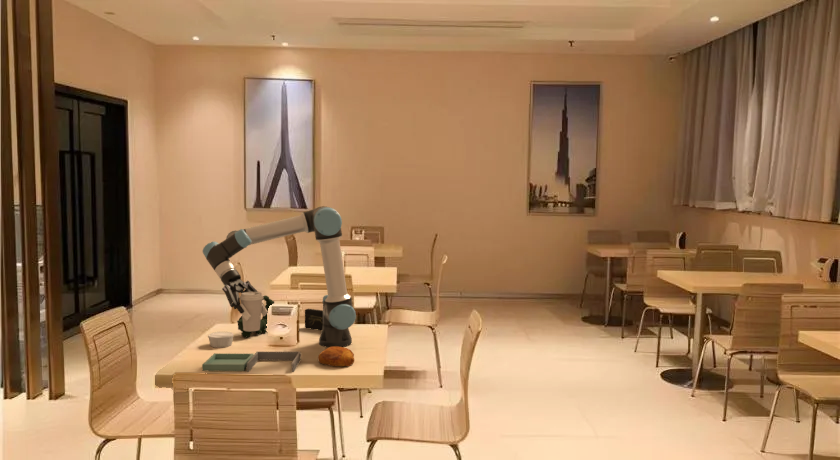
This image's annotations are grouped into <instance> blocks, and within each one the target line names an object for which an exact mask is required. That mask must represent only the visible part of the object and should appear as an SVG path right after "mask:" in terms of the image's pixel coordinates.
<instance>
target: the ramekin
mask: <svg viewBox="0 0 840 460" xmlns="http://www.w3.org/2000/svg"><path fill="white" fill-rule="evenodd" d="M207 335H208V336H207V338H208V342H209V346H210V347H211V348H215V349H216V348H217V349H218V348H219V349H220V348H228V347H230V346H232V344H233V340H234V332H232V331H215V332H210V333H209V334H207Z"/></svg>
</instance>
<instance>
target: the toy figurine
mask: <svg viewBox="0 0 840 460" xmlns="http://www.w3.org/2000/svg"><path fill="white" fill-rule="evenodd" d="M262 301H265V304H264V307H265V308H266V309H267V311H268V308H269V306H270V305H272V304H275V300H273V299H271V298H270V296H268V295H263V299H262ZM236 322H237V330H238V331H240V332H241V336H242V337H243V338H246V339H247V338H249V337H250V336H251V334H252V333H255V334H256V335H261V334H266V333H267V332H266V330H267V326H266V324H267V314H266V315H265V316H263V315H262V316H261V321H260V330H258V331H244V330H243V319H242V315H241V316H239V319H238V320H237V321H236Z"/></svg>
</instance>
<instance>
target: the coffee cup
mask: <svg viewBox="0 0 840 460" xmlns="http://www.w3.org/2000/svg"><path fill="white" fill-rule="evenodd" d="M240 294H241V295H239V299H240V305H241V304H243V305H244V307H245V308H246V310H247V311H248V313H249V314H250V316H251V317H250V318H249V319H248V320H247V321H246V320H245V318H244V317H243V316H242V315H241V316H242V319H243V330H244V331H258V330H260V321H261V319H262V313H261V309H262V303H263V300H262V299H263V296H264V295H263V294H262V292H259V291H258V292H244V293H240Z"/></svg>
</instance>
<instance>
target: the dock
mask: <svg viewBox="0 0 840 460" xmlns="http://www.w3.org/2000/svg"><path fill="white" fill-rule="evenodd" d="M253 354H254V355H253V357H252V358H251V359H250V360H249V361H248V362H247V368H246V372H247V373H249V372H250V371H251V370H252V369H253V368H254V366H255V365H256V364H257V363H258V362H259V361H292V362H291V373H294V372H295V371H296V369H297V367H298V365H299V364H300V362H301V360H302V352H301V351H255V353H253Z"/></svg>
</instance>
